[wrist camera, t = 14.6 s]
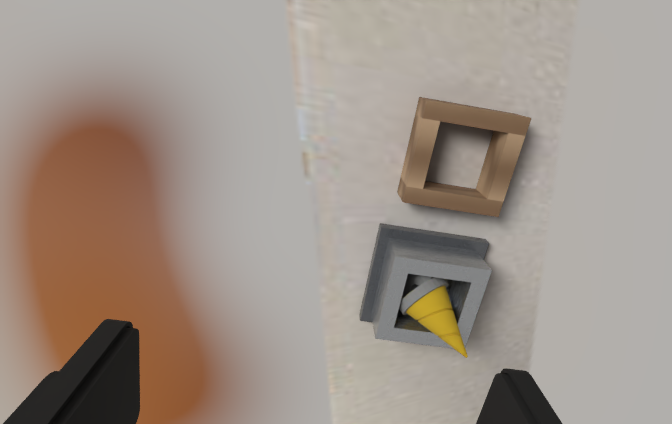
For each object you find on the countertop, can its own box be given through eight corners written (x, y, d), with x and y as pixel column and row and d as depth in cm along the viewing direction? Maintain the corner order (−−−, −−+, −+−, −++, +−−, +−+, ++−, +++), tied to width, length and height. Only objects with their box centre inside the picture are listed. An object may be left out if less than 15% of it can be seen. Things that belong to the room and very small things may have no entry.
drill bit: (434, 246, 40) (502, 334, 35) (408, 274, 43) (467, 357, 39) (397, 260, 37) (466, 357, 32) (373, 289, 40) (432, 380, 36)
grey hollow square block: (379, 223, 39) (386, 245, 35) (485, 239, 40) (506, 262, 35) (359, 315, 43) (363, 345, 38) (455, 327, 44) (471, 359, 39)
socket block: (419, 97, 35) (427, 100, 32) (515, 113, 36) (531, 118, 33) (397, 192, 38) (402, 202, 35) (486, 205, 39) (498, 216, 36)
